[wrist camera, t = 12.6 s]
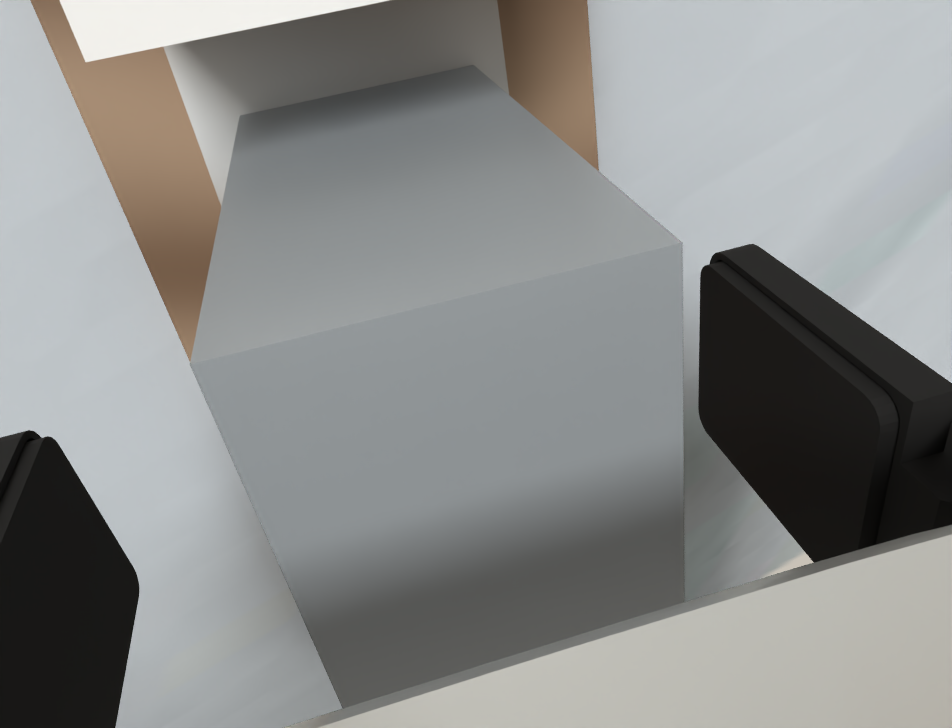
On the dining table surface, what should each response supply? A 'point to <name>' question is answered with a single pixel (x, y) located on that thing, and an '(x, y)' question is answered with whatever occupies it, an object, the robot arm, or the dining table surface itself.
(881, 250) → the dining table surface
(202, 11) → the block
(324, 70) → the rail board
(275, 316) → the block
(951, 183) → the dining table surface
